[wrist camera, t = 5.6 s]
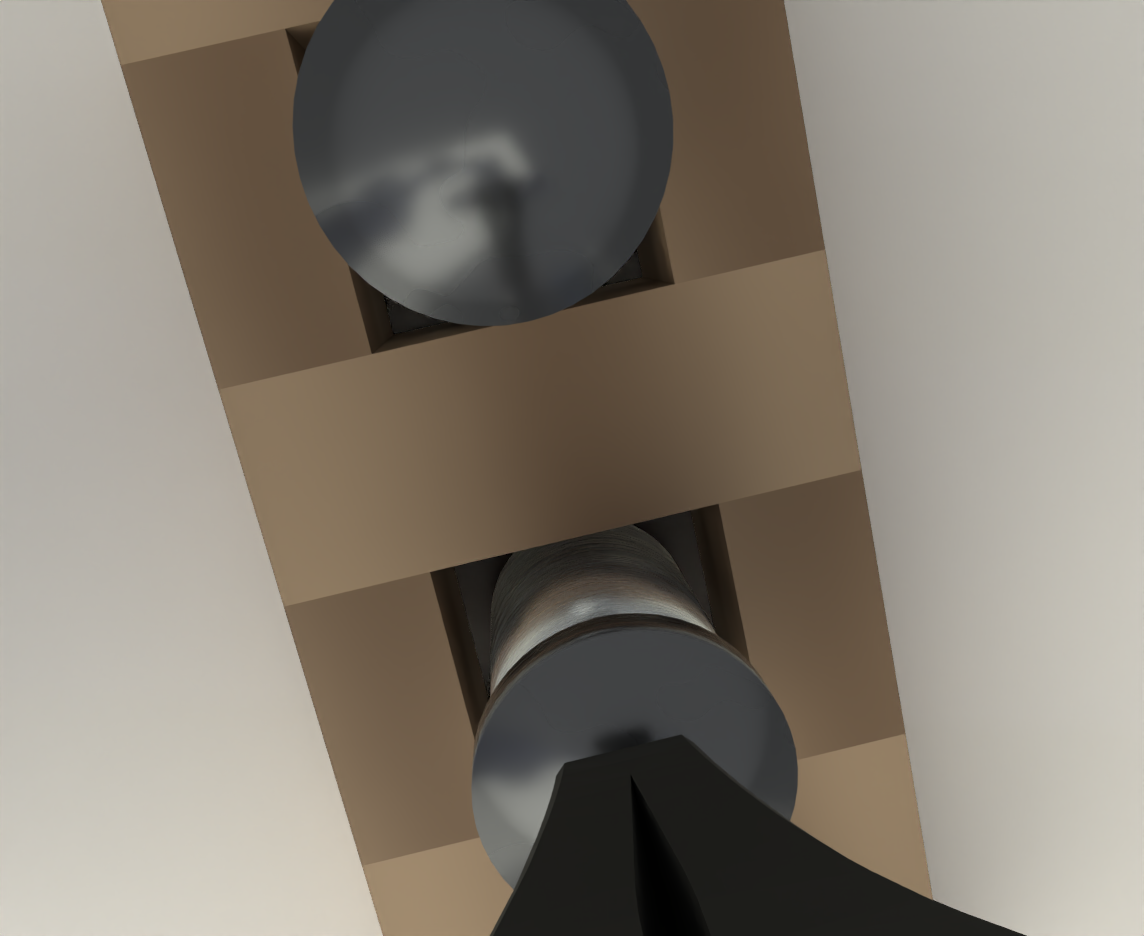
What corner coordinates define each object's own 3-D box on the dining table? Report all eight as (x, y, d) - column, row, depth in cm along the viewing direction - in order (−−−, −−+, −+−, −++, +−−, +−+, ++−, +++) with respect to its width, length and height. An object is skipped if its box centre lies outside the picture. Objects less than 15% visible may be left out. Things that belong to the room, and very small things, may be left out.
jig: (493, 1144, 20) (493, 1302, 17) (170, 28, 15) (93, -24, 12) (907, 1041, 20) (979, 1179, 17) (705, -91, 15) (756, -169, 12)
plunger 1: (399, 321, 16) (350, 363, 10) (335, 73, 15) (245, -23, 10) (632, 268, 16) (706, 281, 10) (581, 18, 15) (631, -110, 10)
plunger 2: (507, 738, 17) (514, 967, 12) (454, 534, 17) (435, 677, 11) (719, 687, 17) (822, 890, 12) (676, 481, 17) (766, 598, 11)
